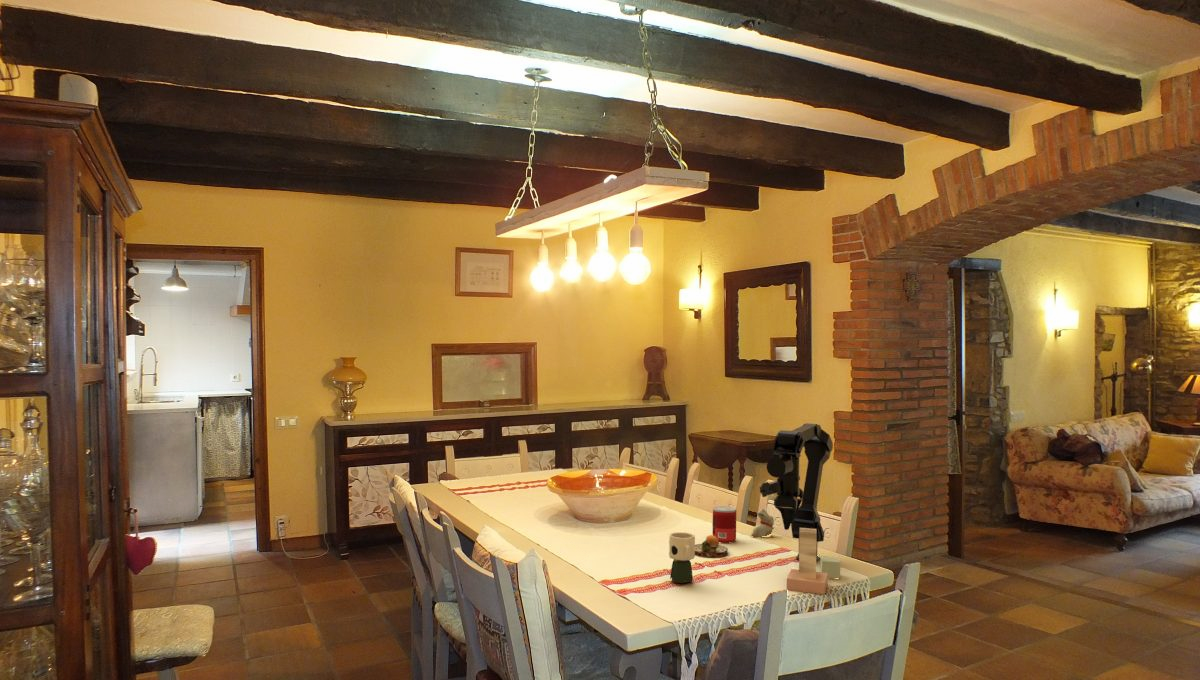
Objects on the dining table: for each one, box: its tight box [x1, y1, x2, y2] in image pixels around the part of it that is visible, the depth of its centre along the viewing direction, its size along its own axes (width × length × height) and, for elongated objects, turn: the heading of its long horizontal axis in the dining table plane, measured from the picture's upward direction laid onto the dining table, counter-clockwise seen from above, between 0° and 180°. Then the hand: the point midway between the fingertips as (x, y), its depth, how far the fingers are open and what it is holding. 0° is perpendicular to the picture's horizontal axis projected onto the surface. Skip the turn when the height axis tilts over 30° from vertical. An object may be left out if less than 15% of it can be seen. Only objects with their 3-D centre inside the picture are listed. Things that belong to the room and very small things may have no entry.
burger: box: [695, 534, 729, 559], centre depth 243 cm, size 12×12×8 cm
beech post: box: [798, 528, 817, 579], centre depth 209 cm, size 4×4×12 cm
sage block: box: [820, 556, 841, 579], centre depth 219 cm, size 5×5×5 cm
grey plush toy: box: [750, 508, 775, 538], centre depth 267 cm, size 6×8×10 cm
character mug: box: [668, 531, 696, 584], centre depth 212 cm, size 11×7×13 cm, turn 14°
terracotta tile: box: [785, 568, 829, 595], centre depth 209 cm, size 10×10×3 cm
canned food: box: [712, 505, 737, 544], centre depth 260 cm, size 8×8×11 cm
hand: (788, 526), depth 225 cm, fingers open, 9 cm apart
